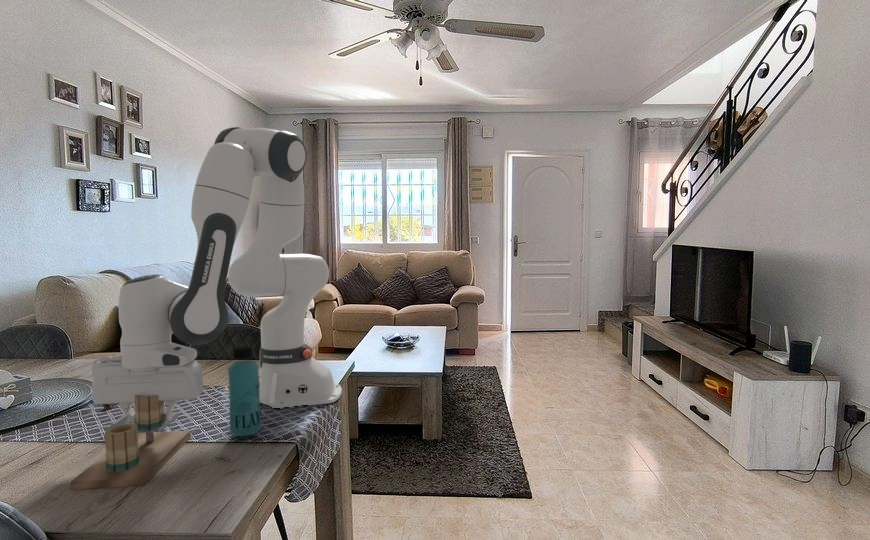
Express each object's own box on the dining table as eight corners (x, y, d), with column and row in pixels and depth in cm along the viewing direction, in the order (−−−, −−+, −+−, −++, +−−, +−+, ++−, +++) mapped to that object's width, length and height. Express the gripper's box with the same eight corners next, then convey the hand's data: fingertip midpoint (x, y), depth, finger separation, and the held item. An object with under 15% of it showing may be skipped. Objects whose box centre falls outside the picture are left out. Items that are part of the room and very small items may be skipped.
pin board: (190, 437, 103) (189, 412, 103) (143, 485, 83) (142, 455, 83) (132, 439, 102) (131, 415, 101) (71, 489, 82) (69, 459, 82)
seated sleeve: (140, 456, 91) (138, 421, 90) (137, 468, 86) (135, 431, 86) (109, 462, 89) (107, 426, 88) (104, 474, 84) (102, 436, 84)
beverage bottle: (230, 445, 99) (227, 352, 97) (228, 433, 105) (225, 345, 103) (263, 439, 102) (260, 348, 100) (259, 428, 108) (256, 342, 106)
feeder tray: (178, 415, 115) (178, 405, 115) (158, 433, 105) (158, 422, 105) (135, 417, 114) (134, 407, 114) (111, 435, 104) (110, 424, 104)
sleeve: (157, 431, 94) (156, 398, 93) (130, 431, 93) (129, 397, 92) (168, 419, 99) (167, 388, 98) (142, 419, 98) (142, 387, 97)
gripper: (81, 361, 91) (86, 430, 92) (193, 357, 94) (196, 424, 94) (100, 353, 97) (104, 418, 98) (204, 349, 100) (207, 413, 101)
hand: (150, 421), depth 96 cm, fingers closed on sleeve, 5 cm apart
